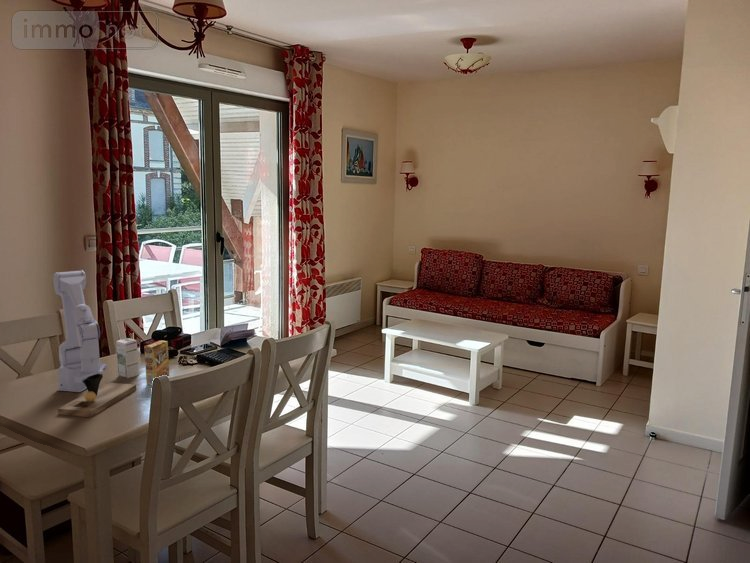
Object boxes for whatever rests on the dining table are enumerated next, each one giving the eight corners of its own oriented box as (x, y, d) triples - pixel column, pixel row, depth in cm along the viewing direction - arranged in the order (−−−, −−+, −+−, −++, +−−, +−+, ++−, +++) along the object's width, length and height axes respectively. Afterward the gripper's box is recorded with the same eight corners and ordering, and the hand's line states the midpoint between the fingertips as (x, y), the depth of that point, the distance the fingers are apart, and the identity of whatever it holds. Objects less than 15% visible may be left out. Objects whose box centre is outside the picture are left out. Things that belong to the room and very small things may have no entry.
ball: (84, 402, 201) (81, 397, 198) (90, 393, 203) (86, 388, 201) (93, 404, 200) (90, 399, 198) (99, 395, 203) (96, 390, 200)
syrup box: (139, 374, 234) (137, 339, 232) (126, 378, 229) (124, 343, 227) (130, 372, 237) (128, 337, 235) (117, 376, 232) (115, 340, 230)
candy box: (155, 386, 222) (153, 346, 219) (145, 384, 223) (143, 345, 221) (170, 378, 230) (168, 340, 228) (161, 377, 232) (159, 339, 229)
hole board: (58, 414, 194) (57, 408, 194) (106, 387, 220) (106, 382, 219) (91, 417, 192) (90, 411, 192) (136, 389, 218) (136, 384, 217)
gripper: (87, 364, 192) (90, 404, 194) (113, 352, 206) (116, 389, 208) (67, 363, 193) (71, 403, 195) (95, 351, 207) (98, 388, 209)
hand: (93, 396), depth 202 cm, fingers closed, pressing on ball
